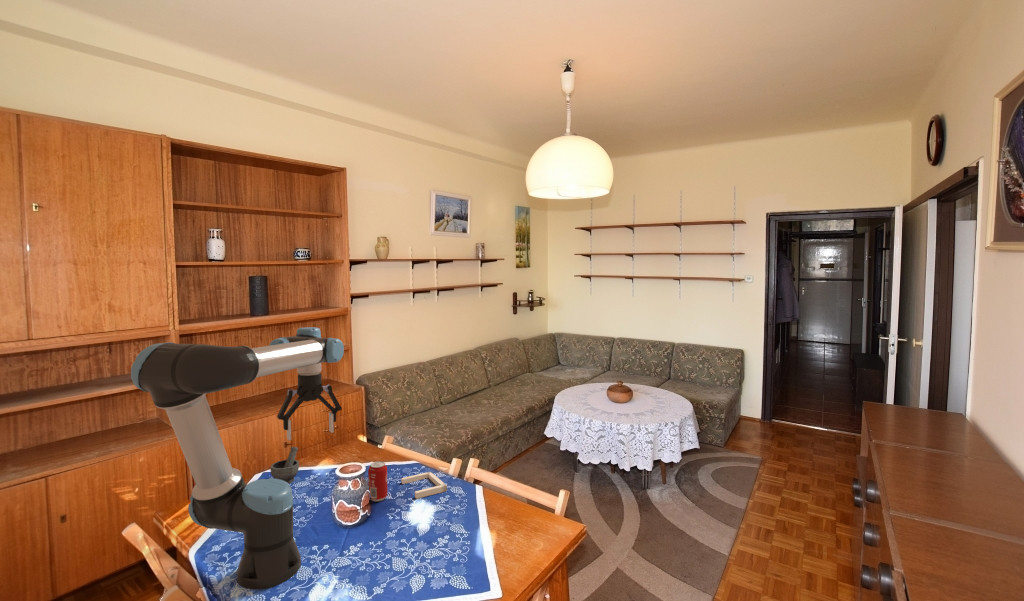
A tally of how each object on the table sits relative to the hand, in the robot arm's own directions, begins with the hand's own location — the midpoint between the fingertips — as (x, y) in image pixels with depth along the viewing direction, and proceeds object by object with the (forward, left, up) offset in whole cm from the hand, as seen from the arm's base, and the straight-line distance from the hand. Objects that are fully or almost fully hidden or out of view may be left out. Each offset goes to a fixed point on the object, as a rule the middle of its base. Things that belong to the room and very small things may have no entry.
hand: (310, 435), depth 164 cm
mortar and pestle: (+22, +5, -23) cm, 32 cm away
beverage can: (-10, -20, -23) cm, 32 cm away
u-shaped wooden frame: (-10, -36, -22) cm, 43 cm away
